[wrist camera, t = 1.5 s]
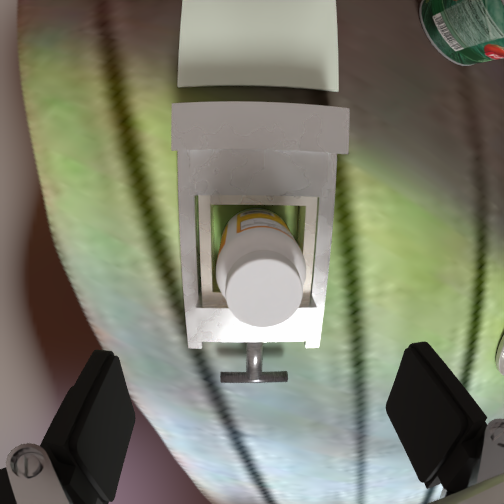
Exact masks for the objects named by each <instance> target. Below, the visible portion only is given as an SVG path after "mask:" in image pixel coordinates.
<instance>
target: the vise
mask: <svg viewBox="0 0 504 504" xmlns="http://www.w3.org/2000/svg"><path fill="white" fill-rule="evenodd" d="M348 148H349V108H341V107H332V106H322V105H310V104H296V103H278V102H242V101H226V102H189V103H172V151H174V150H178V198H179V226H180V246H181V263H182V278H183V292H184V304H185V316H186V327H187V337H188V347H189V348H196V349H202V346H203V342H247V347H246V372H221V376H220V378H221V383H263V382H287V380H288V374H287V371H278V372H262V360H263V342H286V341H304V344H305V347H306V348H314V347H319V342H320V335H321V328H322V321H323V313H324V305H325V297H326V289H327V280H328V271H329V261H330V251H331V240H332V228H333V215H334V201H335V185H336V165H337V153H339V154H348ZM196 195H199V236H200V263H201V285H202V288H201V289H200V286H199V265H198V240H197V204H196ZM213 205H296V206H299V225H298V242H297V244H298V246H299V248H300V249H301V251H302V254H303V256H304V259H305V263H306V279H305V283H304V286H303V296H302V300H301V303H300V306H299V307H298V309H297V311H296V312H295V313H294V314H293V315H292V316H291V317H290V318H289V319H288V320H286V321H285V322H283V323H281V324H278V325H276V326H272V327H265V328H261V327H253V326H250V325H247V324H245V323H243V322H241V321H240V320H238V319H237V318H236V317H235V316H234V315H233V314H232V312H231V311H230V309H229V307H228V305H227V302H226V299H225V297H224V296H223V295H222V293H221V291H220V289H219V287H218V284H217V280H216V279H215V266H214V216H213Z"/></svg>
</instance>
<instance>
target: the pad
mask: <svg viewBox="0 0 504 504" xmlns="http://www.w3.org/2000/svg"><path fill="white" fill-rule="evenodd" d="M200 86H269V87H288V88H303V89H315V90H325V91H334V92H338V36H337V15H336V0H183V2H182V14H181V27H180V42H179V61H178V85H177V87H178V88H180V87H200Z"/></svg>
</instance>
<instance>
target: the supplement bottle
mask: <svg viewBox="0 0 504 504" xmlns="http://www.w3.org/2000/svg"><path fill="white" fill-rule="evenodd" d="M305 279H306V263H305V259H304V256H303V254H302V251H301V249H300V248H299V246H298V244H297V243H296V241H295V239H294V237H293V236H292V234H291V232H290V231H289V229H288V227H287V225H286V224H285V222H284V221H283V220H282V219H281V218H280V217H279V216H278V215H277V214H275V213H273V212H271V211H269V210H266V209H262V208H250V209H246V210H243V211H241V212H239V213H237V214H236V215H234V216H233V217H232V218H231V219H230V220H229V222H228V223H227V224H226V226H225V228H224V231H223V234H222V238H221V244H220V249H219V254H218V258H217V263H216V280H217V284H218V287H219V289H220V291H221V293H222V295H223V296H224V297H225V299H226V302H227V305H228V307H229V309H230V311H231V312H232V314H233V315H234V316H235V317H236V318H237V319H238V320H240V321H241V322H243V323H245V324H247V325H250V326H253V327H261V328H265V327H272V326H276V325H278V324H281V323H283V322H285V321H286V320H288V319H289V318H290V317H291V316H292V315H293V314H294V313H295V312H296V311H297V309H298V307H299V306H300V303H301V300H302V296H303V286H304V283H305Z"/></svg>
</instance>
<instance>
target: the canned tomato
mask: <svg viewBox="0 0 504 504" xmlns="http://www.w3.org/2000/svg"><path fill="white" fill-rule="evenodd" d="M419 16H420V21H421V24H422V27H423V30H424V32H425V34H426V35H427V37H428V39H429V40H430V42H431V43H432V45H433V46H434V47H435V48H436V49H437V50H438V51H439V52H440V53H441V54H442V55H443V56H444V57H445V58H447V59H448V60H450V61H451V62H453V63H455V64H458V65H462V66H470V65H474V64H476V63H482V62H486V61H491V60H495V59H500V58H504V0H422V2H421V3H420V8H419Z"/></svg>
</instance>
